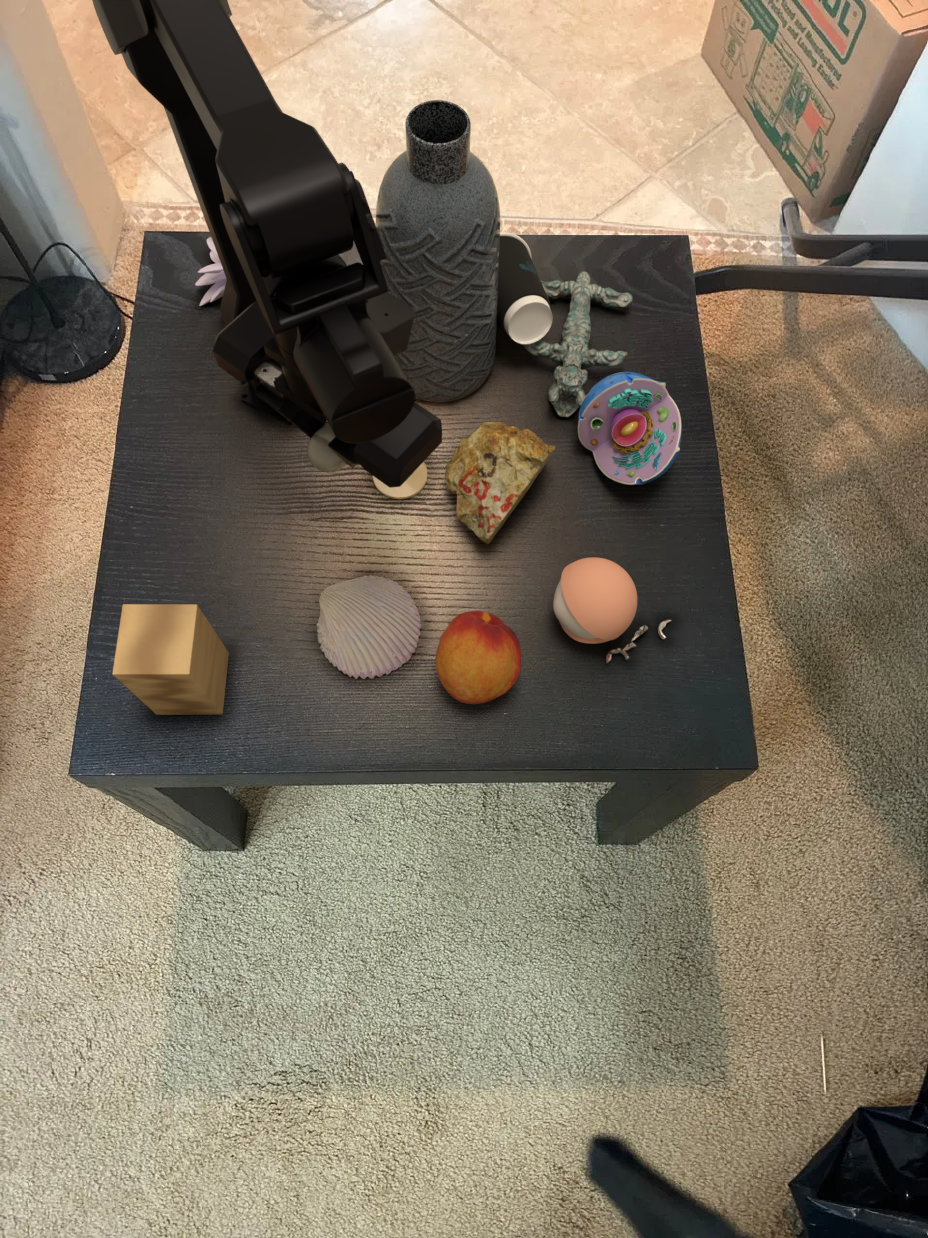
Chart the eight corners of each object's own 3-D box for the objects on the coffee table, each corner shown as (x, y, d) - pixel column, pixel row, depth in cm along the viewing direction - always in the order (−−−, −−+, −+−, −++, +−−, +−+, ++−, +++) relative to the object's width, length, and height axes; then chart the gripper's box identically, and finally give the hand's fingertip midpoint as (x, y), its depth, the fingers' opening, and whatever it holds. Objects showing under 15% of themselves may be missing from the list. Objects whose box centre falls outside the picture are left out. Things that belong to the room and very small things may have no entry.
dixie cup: (497, 366, 91) (466, 308, 98) (568, 344, 92) (533, 288, 98) (489, 300, 85) (457, 243, 91) (566, 277, 85) (528, 222, 92)
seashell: (347, 542, 82) (433, 583, 79) (361, 573, 87) (443, 613, 83) (281, 625, 79) (369, 673, 75) (300, 653, 83) (383, 699, 80)
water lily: (312, 200, 99) (242, 153, 94) (336, 255, 90) (259, 206, 84) (249, 305, 106) (180, 266, 100) (264, 367, 96) (188, 328, 91)
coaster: (362, 484, 88) (361, 481, 88) (390, 443, 90) (390, 441, 90) (409, 508, 87) (409, 506, 87) (437, 467, 89) (437, 464, 89)
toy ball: (537, 588, 84) (546, 551, 77) (612, 571, 85) (629, 533, 78) (561, 664, 81) (573, 633, 74) (639, 645, 82) (658, 613, 75)
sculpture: (508, 416, 91) (513, 381, 87) (531, 291, 101) (536, 254, 97) (615, 432, 91) (625, 398, 87) (628, 305, 100) (637, 269, 96)
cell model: (633, 520, 88) (582, 477, 81) (596, 440, 95) (547, 395, 88) (719, 462, 84) (673, 411, 77) (674, 383, 90) (628, 330, 84)
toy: (680, 629, 82) (668, 611, 83) (612, 667, 80) (600, 647, 81) (675, 633, 84) (663, 615, 84) (608, 670, 81) (596, 651, 82)
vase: (412, 299, 97) (402, 50, 71) (512, 337, 96) (539, 97, 69) (362, 379, 93) (332, 146, 67) (465, 421, 91) (476, 199, 65)
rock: (496, 548, 91) (498, 551, 81) (424, 507, 91) (417, 505, 81) (553, 449, 90) (562, 440, 80) (480, 407, 90) (480, 393, 80)
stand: (156, 715, 79) (111, 674, 68) (164, 652, 81) (122, 603, 70) (223, 714, 79) (189, 674, 68) (229, 652, 81) (197, 603, 70)
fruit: (536, 667, 81) (546, 636, 74) (479, 730, 79) (484, 704, 72) (473, 615, 83) (476, 580, 76) (415, 675, 81) (413, 644, 73)
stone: (332, 488, 74) (328, 465, 71) (301, 465, 75) (294, 441, 71) (375, 444, 76) (372, 420, 72) (343, 422, 76) (339, 397, 73)
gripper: (492, 323, 61) (481, 447, 75) (292, 195, 65) (318, 336, 79) (390, 428, 57) (399, 537, 72) (185, 286, 61) (233, 417, 76)
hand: (338, 451), depth 75 cm, fingers closed on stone, 3 cm apart
